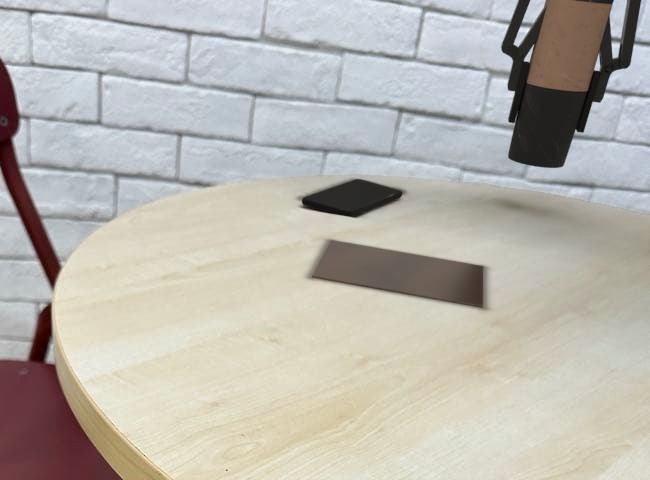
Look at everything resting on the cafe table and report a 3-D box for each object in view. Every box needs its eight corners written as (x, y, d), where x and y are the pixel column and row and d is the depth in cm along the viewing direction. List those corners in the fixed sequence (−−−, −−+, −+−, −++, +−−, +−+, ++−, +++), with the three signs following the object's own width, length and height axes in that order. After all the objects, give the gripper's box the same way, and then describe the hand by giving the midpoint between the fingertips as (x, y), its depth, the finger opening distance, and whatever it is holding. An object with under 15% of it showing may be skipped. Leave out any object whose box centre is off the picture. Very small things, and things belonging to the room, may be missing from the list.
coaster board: (481, 275, 87) (483, 265, 87) (480, 316, 78) (483, 306, 77) (329, 249, 89) (330, 239, 89) (310, 286, 80) (311, 275, 79)
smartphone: (404, 191, 109) (350, 212, 98) (403, 197, 109) (349, 219, 99) (357, 178, 111) (300, 197, 101) (356, 184, 112) (298, 204, 101)
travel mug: (501, 161, 107) (549, -30, 95) (509, 151, 112) (555, -30, 101) (563, 172, 105) (620, -22, 93) (568, 161, 111) (621, -22, 99)
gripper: (513, -114, 91) (462, 119, 104) (712, -94, 88) (633, 142, 102) (511, -110, 97) (463, 110, 110) (697, -91, 94) (625, 132, 108)
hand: (545, 125), depth 106 cm, fingers closed on travel mug, 8 cm apart
